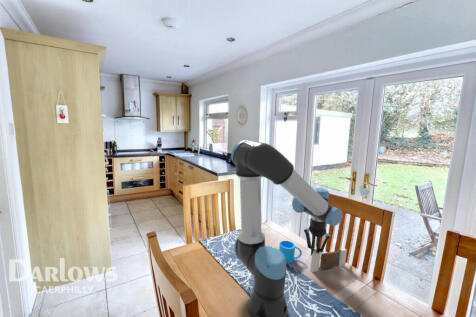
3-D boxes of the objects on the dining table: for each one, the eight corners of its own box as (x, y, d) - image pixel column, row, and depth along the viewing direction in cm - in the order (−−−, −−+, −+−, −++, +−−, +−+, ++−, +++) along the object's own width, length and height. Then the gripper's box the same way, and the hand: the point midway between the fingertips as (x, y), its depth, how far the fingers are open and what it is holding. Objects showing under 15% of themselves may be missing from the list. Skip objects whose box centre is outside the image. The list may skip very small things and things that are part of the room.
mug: (279, 262, 117) (280, 248, 116) (278, 253, 125) (279, 240, 124) (302, 264, 116) (303, 250, 114) (299, 255, 124) (301, 242, 122)
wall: (344, 265, 116) (346, 249, 114) (312, 272, 110) (314, 254, 108) (342, 264, 117) (344, 247, 116) (310, 270, 111) (312, 252, 110)
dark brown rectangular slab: (338, 268, 113) (340, 253, 112) (323, 271, 110) (324, 256, 109) (335, 265, 116) (336, 251, 114) (319, 268, 113) (321, 253, 111)
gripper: (303, 218, 112) (299, 261, 116) (330, 225, 105) (325, 270, 109) (307, 213, 118) (303, 254, 122) (333, 219, 112) (328, 262, 115)
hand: (314, 261), depth 115 cm, fingers closed
